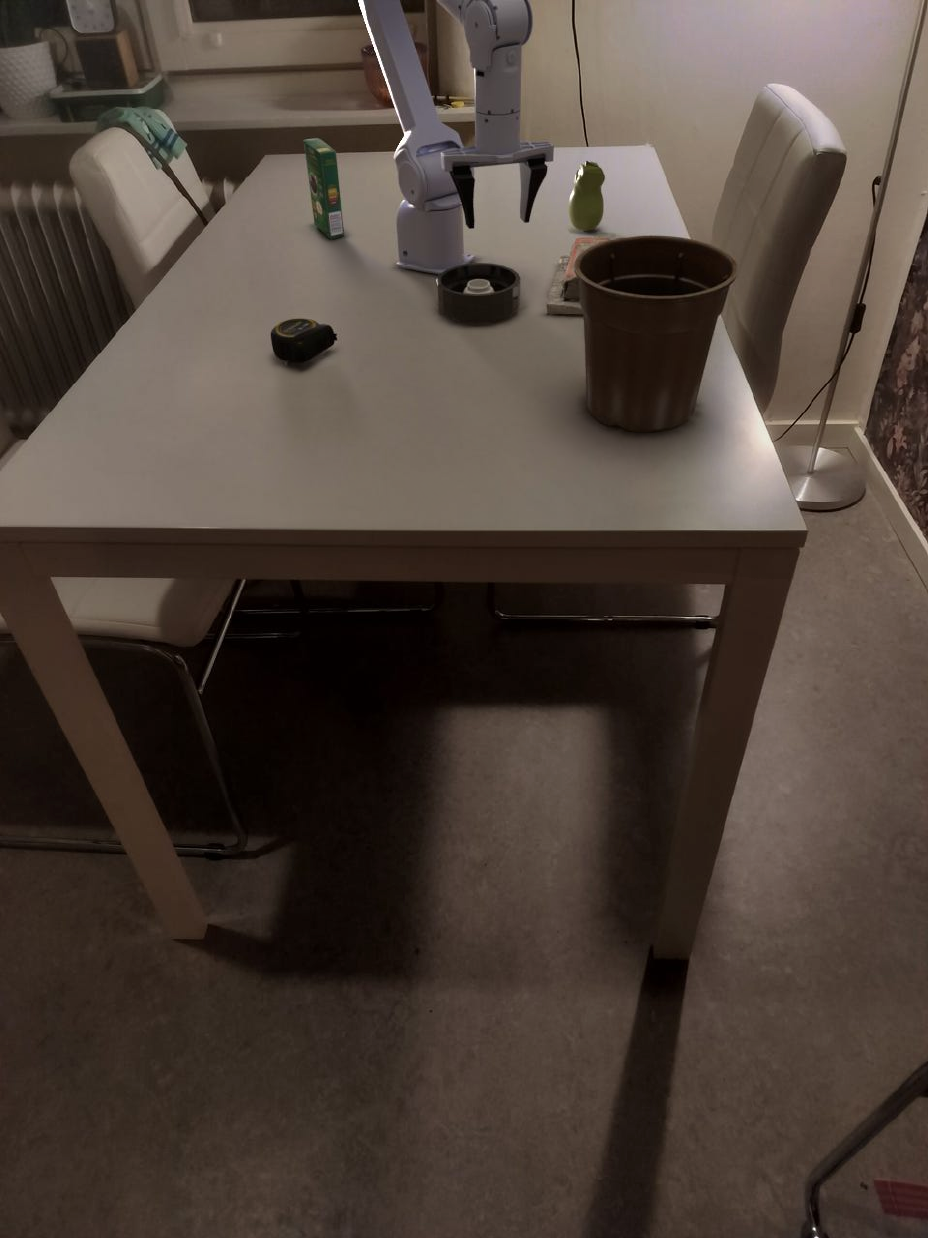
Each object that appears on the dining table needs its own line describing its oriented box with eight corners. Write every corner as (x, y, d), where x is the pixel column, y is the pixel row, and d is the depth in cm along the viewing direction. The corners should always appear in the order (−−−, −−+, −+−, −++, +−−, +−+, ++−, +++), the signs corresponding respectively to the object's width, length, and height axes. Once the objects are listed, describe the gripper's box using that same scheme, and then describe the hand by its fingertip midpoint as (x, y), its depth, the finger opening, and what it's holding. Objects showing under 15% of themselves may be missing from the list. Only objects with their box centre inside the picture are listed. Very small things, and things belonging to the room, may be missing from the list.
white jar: (453, 305, 120) (480, 315, 117) (452, 284, 118) (480, 293, 115) (477, 294, 122) (504, 303, 120) (477, 273, 120) (504, 282, 118)
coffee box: (346, 237, 142) (336, 148, 133) (330, 240, 141) (318, 151, 133) (330, 222, 148) (319, 136, 139) (313, 225, 147) (302, 139, 138)
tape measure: (304, 373, 107) (299, 344, 105) (262, 360, 110) (257, 331, 108) (339, 351, 112) (335, 323, 109) (298, 339, 114) (294, 311, 112)
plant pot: (612, 458, 91) (628, 307, 80) (541, 391, 102) (546, 250, 91) (741, 423, 96) (772, 276, 85) (659, 362, 107) (678, 225, 96)
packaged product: (561, 232, 128) (630, 235, 126) (559, 265, 131) (626, 268, 129) (546, 279, 115) (623, 283, 113) (545, 315, 118) (619, 319, 116)
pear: (594, 221, 144) (598, 155, 138) (607, 232, 141) (613, 164, 134) (562, 226, 143) (566, 159, 136) (576, 237, 139) (579, 169, 133)
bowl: (423, 317, 118) (421, 286, 116) (462, 287, 126) (461, 257, 123) (496, 332, 114) (496, 301, 112) (533, 301, 122) (534, 270, 119)
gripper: (448, 122, 105) (451, 238, 114) (563, 111, 107) (557, 227, 116) (435, 108, 110) (440, 221, 119) (545, 98, 112) (542, 210, 121)
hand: (497, 223), depth 118 cm, fingers open, 7 cm apart
